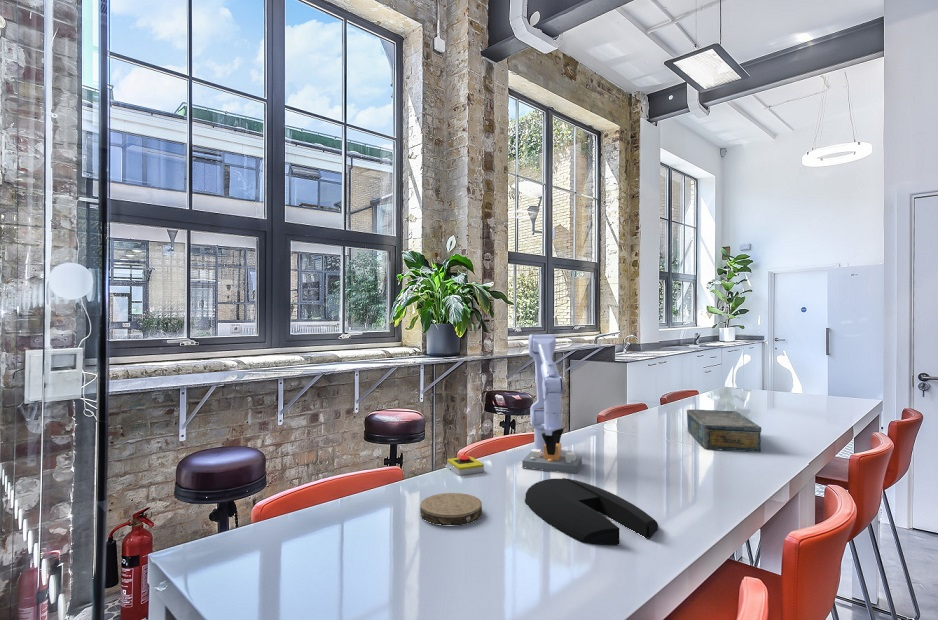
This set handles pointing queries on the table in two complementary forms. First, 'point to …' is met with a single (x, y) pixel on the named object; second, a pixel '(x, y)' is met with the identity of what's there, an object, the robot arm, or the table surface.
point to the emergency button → (466, 466)
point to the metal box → (723, 430)
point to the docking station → (586, 511)
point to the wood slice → (451, 509)
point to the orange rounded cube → (556, 455)
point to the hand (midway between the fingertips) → (553, 452)
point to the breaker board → (553, 462)
